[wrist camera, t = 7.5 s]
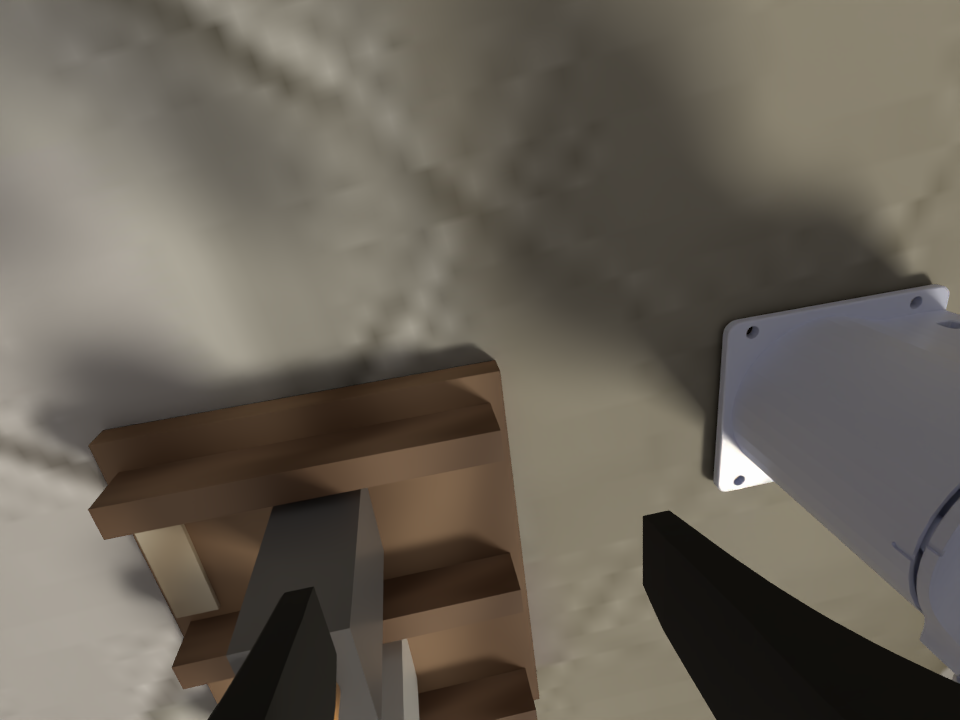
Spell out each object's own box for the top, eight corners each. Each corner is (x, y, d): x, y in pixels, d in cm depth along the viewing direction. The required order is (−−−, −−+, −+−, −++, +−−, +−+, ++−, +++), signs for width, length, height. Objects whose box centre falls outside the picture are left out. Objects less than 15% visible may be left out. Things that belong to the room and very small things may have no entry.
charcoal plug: (362, 468, 20) (344, 684, 12) (383, 550, 21) (380, 789, 13) (279, 484, 19) (206, 716, 12) (307, 566, 21) (259, 819, 13)
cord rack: (494, 360, 20) (511, 395, 17) (534, 679, 27) (550, 740, 24) (103, 430, 18) (53, 480, 16) (254, 746, 26) (238, 819, 23)
